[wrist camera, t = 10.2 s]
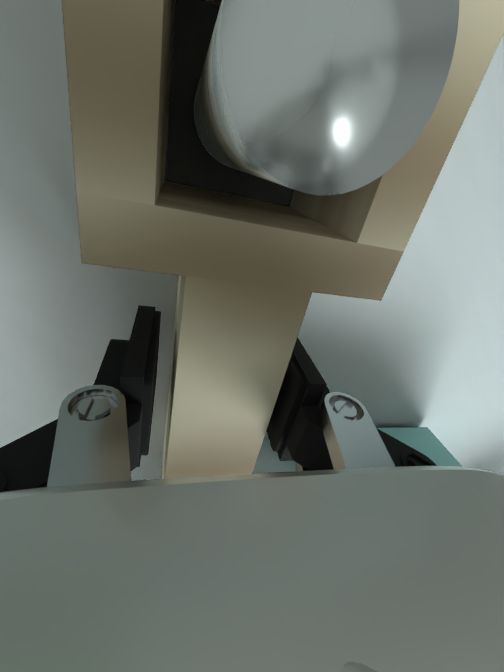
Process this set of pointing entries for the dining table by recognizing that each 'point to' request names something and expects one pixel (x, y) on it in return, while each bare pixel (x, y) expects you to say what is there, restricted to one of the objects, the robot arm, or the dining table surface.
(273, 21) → the post
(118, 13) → the link
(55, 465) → the robot arm
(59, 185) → the dining table surface
